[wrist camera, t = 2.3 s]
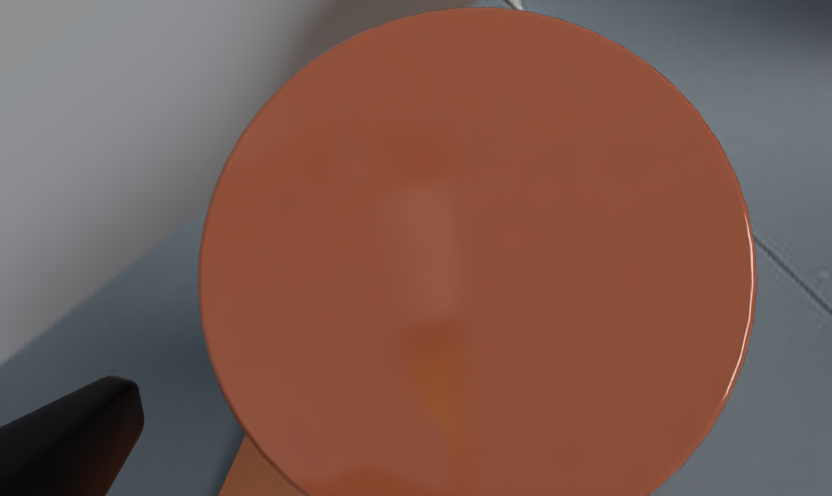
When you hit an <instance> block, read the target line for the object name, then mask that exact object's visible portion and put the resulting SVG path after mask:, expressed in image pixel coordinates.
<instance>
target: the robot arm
mask: <svg viewBox="0 0 832 496" xmlns="http://www.w3.org/2000/svg"><path fill="white" fill-rule="evenodd" d="M143 426H144V413H143V408H142V402H141V397H140V392H139V388H138V385H137V384H136V383H135V382H134V381H132V380H128V379H125V378H121V377H118V376H106V377H104V378H101V379H99V380H97V381H95V382H93V383H91V384H89V385H87V386H85V387H83V388H81V389H78V390H76V391H74V392H72V393H70V394H68V395H66V396H64V397H62V398H60V399H58V400H56V401H54V402H52V403H50V404H47V405H45V406H43V407H41V408H39V409H37V410H35V411H33V412H31V413H29V414H27V415H25V416H23V417H21V418H18V419H16V420H14V421H12V422H10V423H8V424H6V425H4V426H2V427H0V496H106V494H107V492H108V490H109V489H110V487H111V485H112V484H113V482H114V480H115V478H116V477H117V475H118V473H119V471H120V470H121V468H122V466H123V464H124V463H125V461H126V459H127V457H128V456H129V454H130V452H131V450H132V449H133V447H134V445H135V443H136V442H137V440H138V438H139V436H140V435H141V432H142V430H143Z"/></svg>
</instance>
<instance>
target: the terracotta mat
mask: <svg viewBox="0 0 832 496" xmlns="http://www.w3.org/2000/svg"><path fill="white" fill-rule="evenodd" d="M218 496H304V495H303V494H302V493H301V492H299V491H298V490H297V489H295V488H294V487H293V486H292V485H290V484H289V483H288V482H287V481H286V480H285V479H284V478H283V477H282V476H281V475H280V474H279V473H278V472H277V471H276V470H275V469H274V468H273V467H272V466H271V465H270V464H269V463H268V462H267V461H266V460H265V459H264V458H263V457H262V455H261V454H260V453H259V451H258V450H257V449H256V447H255V446H254V445H253V443H252V442H251V441H250V439H249V438H248V436H247V435H245V437H244V440H243V442H242V444H241V446H240V448H239V451H238V453H237V455H236V457H235V459H234V462H233V464H232V466H231V468H230V470H229V473H228V475H227V477H226V479H225V481H224V484H223V486H222V488H221V490H220V493H219V495H218Z"/></svg>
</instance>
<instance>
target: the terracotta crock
mask: <svg viewBox="0 0 832 496" xmlns="http://www.w3.org/2000/svg"><path fill="white" fill-rule="evenodd" d="M756 291H757V275H756V256H755V244H754V239H753V234H752V229H751V224H750V219H749V214H748V209H747V206H746V203H745V200H744V197H743V194H742V192H741V189H740V186H739V183H738V180H737V177H736V174H735V172H734V170H733V168H732V166H731V165H730V163H729V161H728V159H727V157H726V155H725V153H724V151H723V149H722V147H721V145H720V143H719V141H718V140H717V138H716V137H715V135H714V134H713V132H712V131H711V130H710V128H709V127H708V125H707V124H706V122H705V121H704V119H703V118H702V116H701V115H700V113H699V112H698V111H697V110H696V109H695V108H694V107H693V106H692V105H691V103H690V102H689V101H688V100H687V99H686V98H685V97H684V96H683V94H682V93H681V92H680V91H679V90H678V89H677V88H676V87H675V86H674V85H673V84H672V83H671V82H669V81H668V80H667V79H666V78H665V77H664V76H662V75H661V74H660V73H659V72H658V71H657V70H656V69H654V68H653V67H652V66H651V65H650V64H648V63H647V62H645V61H644V60H642V59H641V58H639V57H638V56H636V55H635V54H633V53H632V52H630V51H629V50H627V49H626V48H624V47H623V46H621V45H619V44H617V43H615V42H613V41H611V40H609V39H607V38H605V37H603V36H601V35H600V34H598V33H596V32H594V31H592V30H589V29H586V28H584V27H581V26H578V25H575V24H572V23H570V22H567V21H564V20H561V19H558V18H554V17H550V16H545V15H541V14H537V13H532V12H528V11H521V10H512V9H503V8H494V7H483V8H453V9H445V10H436V11H429V12H424V13H420V14H415V15H411V16H407V17H403V18H399V19H395V20H392V21H390V22H387V23H384V24H381V25H378V26H376V27H373V28H370V29H368V30H365V31H363V32H361V33H359V34H357V35H355V36H353V37H351V38H349V39H347V40H345V41H343V42H341V43H339V44H337V45H335V46H334V47H332V48H331V49H329V50H328V51H326V52H324V53H323V54H321V55H320V56H318V57H317V58H315V59H314V60H312V61H311V62H309V63H308V64H307V65H306V66H304V67H303V68H302V69H301V70H299V71H298V72H297V73H296V74H295V75H293V76H292V77H291V78H290V79H289V80H288V81H286V82H285V83H284V84H283V85H282V86H281V87H280V88H279V89H278V90H277V91H276V93H274V94H273V96H272V97H271V98H270V99H269V100H268V101H267V102H266V103H265V104H264V105H263V106H262V107H261V108H260V110H259V111H258V113H257V114H256V115H255V116H254V118H253V119H252V120H251V122H250V123H249V125H248V126H247V127H246V128H245V130H244V131H243V133H242V134H241V136H240V138H239V139H238V141H237V143H236V145H235V146H234V148H233V150H232V152H231V153H230V155H229V157H228V158H227V160H226V162H225V164H224V167H223V169H222V171H221V174H220V176H219V179H218V181H217V183H216V186H215V188H214V190H213V193H212V197H211V200H210V204H209V207H208V211H207V214H206V218H205V221H204V225H203V232H202V238H201V245H200V251H199V260H198V299H199V308H200V318H201V327H202V331H203V335H204V339H205V343H206V348H207V352H208V356H209V360H210V363H211V366H212V368H213V371H214V374H215V376H216V379H217V381H218V384H219V387H220V389H221V392H222V394H223V396H224V398H225V400H226V402H227V403H228V405H229V407H230V409H231V411H232V413H233V414H234V416H235V418H236V420H237V422H238V424H239V425H240V427H241V428H242V430H243V431H244V432H245V434H246V435H247V436H248V438H249V439H250V441H251V442H252V443H253V445H254V446H255V447H256V449H257V450H258V451H259V453H260V454H261V455H262V457H263V458H264V459H265V460H266V461H267V462H268V463H269V464H270V465H271V466H272V467H273V468H274V469H275V470H276V471H277V472H278V473H279V474H280V475H281V476H282V477H283V478H284V479H285V480H286V481H287V482H288V483H289V484H290V485H292V486H293V487H294V488H295V489H297V490H298V491H299V492H301V493H302V494H303V495H304V496H651V495H652V494H653V493H655V492H656V491H657V490H658V489H659V488H660V487H661V486H662V485H663V484H664V483H665V482H666V481H668V480H669V479H670V478H671V477H672V476H673V475H674V474H675V473H676V472H677V471H678V470H679V469H680V468H681V467H682V466H683V465H684V464H685V463H686V462H687V461H688V459H689V458H690V457H691V455H692V454H693V453H694V452H695V450H696V449H697V448H698V447H699V445H700V444H701V443H702V442H703V440H704V439H705V438H706V437H707V435H708V434H709V432H710V431H711V429H712V428H713V426H714V424H715V423H716V421H717V419H718V417H719V416H720V414H721V412H722V410H723V409H724V407H725V405H726V403H727V402H728V400H729V398H730V396H731V394H732V391H733V389H734V386H735V384H736V381H737V379H738V376H739V374H740V371H741V369H742V366H743V364H744V361H745V357H746V353H747V349H748V345H749V340H750V336H751V332H752V328H753V324H754V313H755V302H756Z"/></svg>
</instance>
